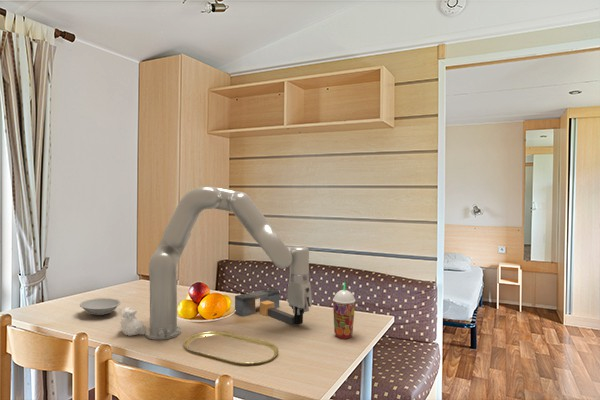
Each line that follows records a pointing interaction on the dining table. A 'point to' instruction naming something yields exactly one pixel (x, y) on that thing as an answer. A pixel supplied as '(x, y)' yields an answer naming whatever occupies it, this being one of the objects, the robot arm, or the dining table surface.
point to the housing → (247, 301)
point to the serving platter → (234, 336)
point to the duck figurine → (131, 323)
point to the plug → (275, 312)
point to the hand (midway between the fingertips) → (298, 323)
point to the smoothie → (343, 313)
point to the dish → (100, 305)
